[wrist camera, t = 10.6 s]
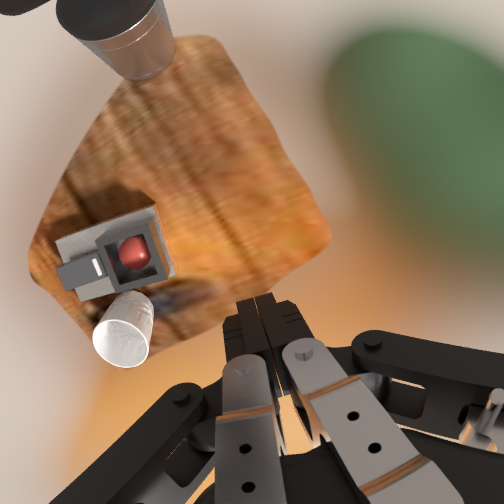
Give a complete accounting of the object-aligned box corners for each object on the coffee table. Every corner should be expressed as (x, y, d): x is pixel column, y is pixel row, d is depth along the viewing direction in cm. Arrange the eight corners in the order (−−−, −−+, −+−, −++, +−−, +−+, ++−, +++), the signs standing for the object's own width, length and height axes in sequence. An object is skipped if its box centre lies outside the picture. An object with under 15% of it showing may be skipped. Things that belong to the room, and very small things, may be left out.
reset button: (117, 240, 38) (114, 243, 37) (146, 230, 38) (144, 233, 37) (128, 269, 40) (125, 273, 38) (156, 261, 40) (155, 264, 39)
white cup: (102, 296, 44) (81, 329, 34) (143, 279, 44) (129, 311, 35) (125, 335, 46) (112, 373, 37) (166, 321, 47) (158, 359, 37)
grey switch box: (63, 235, 40) (42, 249, 33) (156, 202, 41) (146, 212, 34) (87, 293, 43) (71, 314, 37) (177, 267, 44) (172, 287, 38)
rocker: (59, 265, 37) (55, 269, 35) (100, 249, 38) (98, 253, 36) (68, 287, 38) (65, 291, 36) (109, 272, 39) (107, 277, 37)
